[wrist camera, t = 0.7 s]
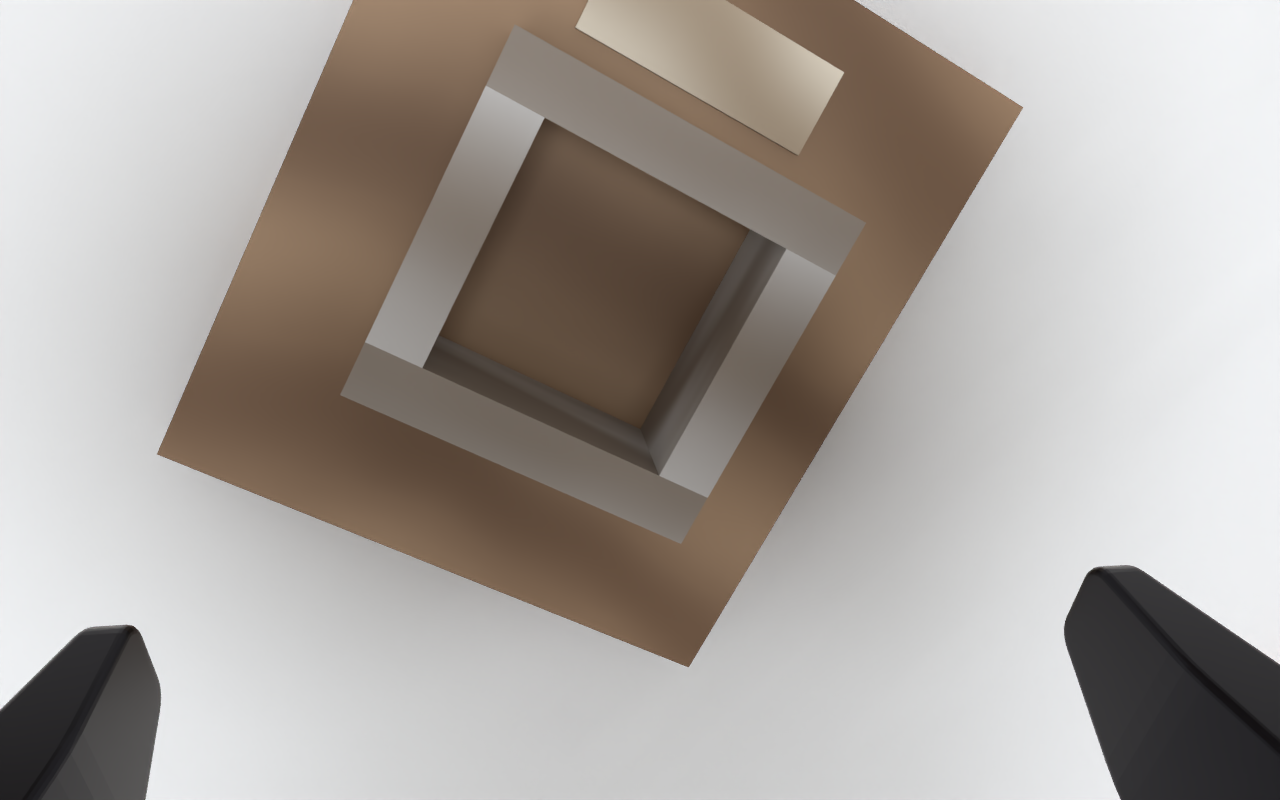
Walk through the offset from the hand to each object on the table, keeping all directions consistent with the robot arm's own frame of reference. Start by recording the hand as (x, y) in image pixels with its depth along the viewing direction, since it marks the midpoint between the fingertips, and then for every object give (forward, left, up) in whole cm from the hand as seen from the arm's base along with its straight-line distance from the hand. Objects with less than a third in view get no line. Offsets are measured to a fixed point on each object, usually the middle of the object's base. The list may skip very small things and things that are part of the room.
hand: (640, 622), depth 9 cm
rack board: (+1, 0, -16) cm, 15 cm away
